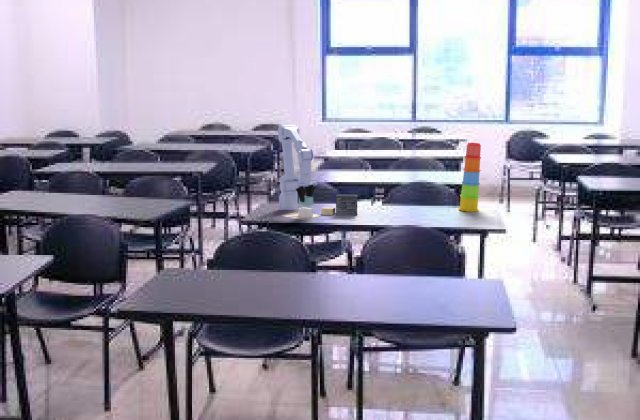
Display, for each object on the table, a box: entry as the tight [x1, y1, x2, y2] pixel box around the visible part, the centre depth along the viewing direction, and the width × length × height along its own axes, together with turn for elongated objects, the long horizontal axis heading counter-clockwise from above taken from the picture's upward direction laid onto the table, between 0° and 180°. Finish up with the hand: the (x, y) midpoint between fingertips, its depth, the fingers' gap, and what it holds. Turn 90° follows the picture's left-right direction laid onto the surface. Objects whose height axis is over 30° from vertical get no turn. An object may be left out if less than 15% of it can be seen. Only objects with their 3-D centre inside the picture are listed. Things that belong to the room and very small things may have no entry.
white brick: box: [297, 206, 314, 218], centre depth 359 cm, size 6×4×4 cm, turn 46°
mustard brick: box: [320, 206, 336, 216], centre depth 365 cm, size 6×4×4 cm, turn 69°
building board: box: [280, 211, 323, 221], centre depth 362 cm, size 16×14×1 cm
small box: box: [335, 193, 358, 217], centre depth 364 cm, size 11×6×10 cm, turn 84°
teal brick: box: [298, 195, 314, 207], centre depth 358 cm, size 6×4×4 cm, turn 46°
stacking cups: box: [458, 142, 482, 213], centre depth 374 cm, size 10×10×35 cm
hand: (305, 201), depth 358 cm, fingers closed on teal brick, 4 cm apart
